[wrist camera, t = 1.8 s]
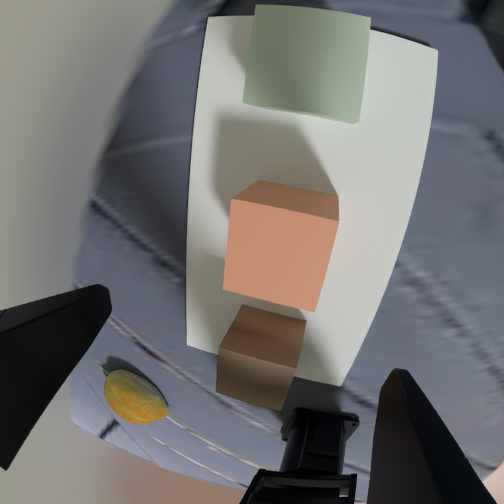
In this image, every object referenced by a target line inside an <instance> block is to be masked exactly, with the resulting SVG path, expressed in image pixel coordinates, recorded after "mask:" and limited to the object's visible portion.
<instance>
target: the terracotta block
mask: <svg viewBox="0 0 504 504" xmlns="http://www.w3.org/2000/svg"><path fill="white" fill-rule="evenodd" d="M338 225H339V196H335V195H330V194H326V193H321V192H317V191H312V190H308V189H303V188H298V187H293V186H288V185H283V184H278V183H273V182H267V181H262V180H258V181H256V182H255V183H253V184H252V185H250V186H249V187H247V188H246V189H244V190H243V191H241V192H240V193H239V194H237V195H236V196H234V197H233V198H231V206H230V216H229V226H228V237H227V247H226V259H225V270H224V282H223V289H224V290H228V291H231V292H235V293H239V294H243V295H246V296H250V297H254V298H258V299H262V300H266V301H270V302H273V303H277V304H281V305H285V306H289V307H294V308H298V309H302V310H306V311H310V312H314V313H315V310H316V307H317V303H318V300H319V297H320V293H321V290H322V286H323V283H324V279H325V275H326V272H327V268H328V264H329V261H330V257H331V253H332V249H333V245H334V241H335V237H336V233H337V229H338Z"/></svg>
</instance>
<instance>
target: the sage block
mask: <svg viewBox="0 0 504 504" xmlns="http://www.w3.org/2000/svg"><path fill="white" fill-rule="evenodd" d="M370 24H371V18H369V17H365V16H360V15H355V14H350V13H344V12H339V11H332V10H325V9H318V8H309V7H299V6H285V5H256V7H255V14H254V20H253V27H252V34H251V41H250V48H249V55H248V62H247V69H246V77H245V84H244V92H243V100H242V103H245V104H249V105H252V106H256V107H260V108H264V109H267V110H274V111H281V112H288V113H295V114H301V115H307V116H313V117H318V118H324V119H329V120H334V121H339V122H343V123H348V124H354V123H357V122H359V119H360V112H361V106H362V99H363V92H364V84H365V76H366V67H367V58H368V48H369V37H370Z"/></svg>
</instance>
